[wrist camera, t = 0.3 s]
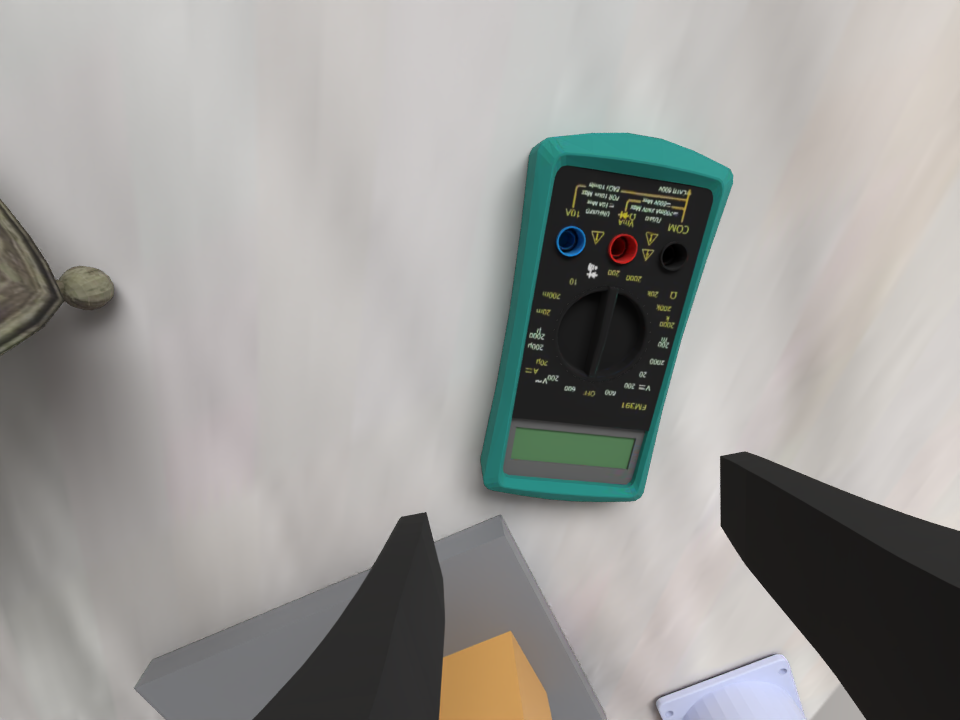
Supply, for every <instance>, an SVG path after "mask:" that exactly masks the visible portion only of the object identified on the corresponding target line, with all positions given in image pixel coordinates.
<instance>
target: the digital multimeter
mask: <svg viewBox="0 0 960 720" xmlns="http://www.w3.org/2000/svg"><path fill="white" fill-rule="evenodd" d="M589 168H590V169H589ZM595 169H596V170H595ZM601 170H602V171H601ZM607 171H608V172H607ZM613 172H614V173H613ZM638 176H639V177H638ZM644 177H645V178H644ZM650 178H651V179H650ZM554 179H555V180H554ZM656 179H657V180H656ZM662 180H663V181H662ZM668 181H669V182H668ZM674 182H675V183H674ZM680 183H681V184H680ZM553 184H554V185H553ZM732 184H733V174H732V172H731V170H730V169H729V168H727V167H725V166H723V165H721V164H719V163H717V162H715V161H713V160H711V159H709V158H707V157H705V156H703V155H701V154H699V153H697V152H695V151H693V150H690V149H687V148H685V147H682V146H679V145H677V144H674V143H671V142H669V141H666V140H663V139H659V138H654V137H648V136H642V135H637V134H631V133H589V134H579V135H569V136H559V137H550V138H546V139H545V140H543V141H542V142H540V143H539V144H537V145H536V146H535V147H533V148H532V150H531V153H530V155H529V162H528V170H527V179H526V188H525V197H524V206H523V214H522V223H521V231H520V239H519V246H518V253H517V261H516V268H515V275H514V283H513V290H512V297H511V305H510V311H509V317H508V323H507V328H506V334H505V340H504V345H503V351H502V356H501V362H500V368H499V373H498V379H497V384H496V389H495V393H494V398H493V403H492V408H491V412H490V417H489V422H488V426H487V431H486V436H485V440H484V445H483V450H482V454H481V459H480V460H481V467H482V474H483V481H484V485H485V486H486V487H487V489H490V490H493V491H498V492H504V493H510V494H516V495H522V496H529V497H536V498H543V499H552V500H564V501H581V502H630V501H636V500H637V499H639V498H640V497H641V496H642V494H643V493H644V488H645V484H646V480H647V475H648V471H649V467H650V462H651V458H652V453H653V449H654V445H655V440H656V436H657V432H658V427H659V423H660V419H661V414H662V410H663V406H664V403H665V399H666V395H667V392H668V388H669V384H670V380H671V377H672V373H673V369H674V366H675V362H676V358H677V354H678V351H679V347H680V343H681V340H682V336H683V333H684V330H685V327H686V323H687V320H688V317H689V314H690V311H691V308H692V305H693V301H694V298H695V295H696V292H697V289H698V286H699V282H700V279H701V276H702V273H703V270H704V267H705V264H706V260H707V257H708V254H709V251H710V248H711V245H712V243H713V240H714V237H715V234H716V231H717V228H718V225H719V222H720V219H721V216H722V213H723V211H724V208H725V205H726V202H727V199H728V196H729V193H730V190H731V187H732ZM552 190H553V191H552ZM551 195H552V196H551ZM550 201H551V202H550ZM549 207H550V208H549ZM548 212H549V213H548ZM547 218H548V219H547ZM546 223H547V224H546ZM545 229H546V230H545ZM544 234H545V236H544ZM543 240H544V241H543ZM542 246H543V247H542ZM541 251H542V252H541ZM540 257H541V258H540ZM539 263H540V264H539ZM538 268H539V269H538ZM537 274H538V275H537ZM535 285H536V286H535ZM602 286H606V287H602ZM596 287H597V288H596ZM592 288H593V289H592ZM623 289H624V290H623ZM534 291H535V292H534ZM584 291H585V292H584ZM631 293H632V294H631ZM573 298H574V299H573ZM560 313H561V314H560ZM648 342H649V343H648ZM524 347H525V348H524ZM645 350H646V351H645ZM626 372H627V373H626ZM519 375H520V376H519ZM573 375H574V376H573ZM619 376H620V377H619ZM611 379H612V380H611ZM590 381H592V382H590ZM601 381H603V382H601ZM517 386H518V387H517ZM514 403H515V404H514Z"/></svg>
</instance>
